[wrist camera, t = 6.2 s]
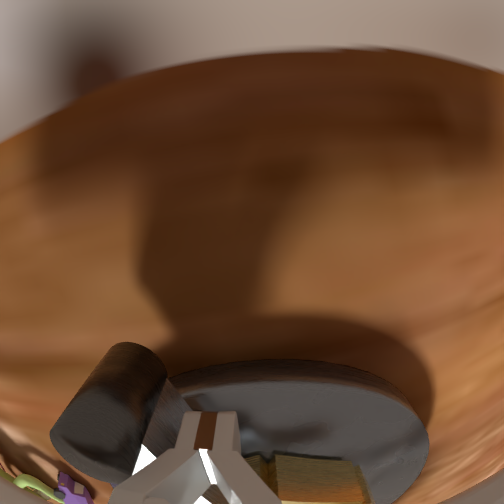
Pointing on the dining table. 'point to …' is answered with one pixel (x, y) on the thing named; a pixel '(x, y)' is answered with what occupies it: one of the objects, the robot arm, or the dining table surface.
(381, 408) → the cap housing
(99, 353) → the dining table surface
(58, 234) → the dining table surface
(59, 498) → the figurine
